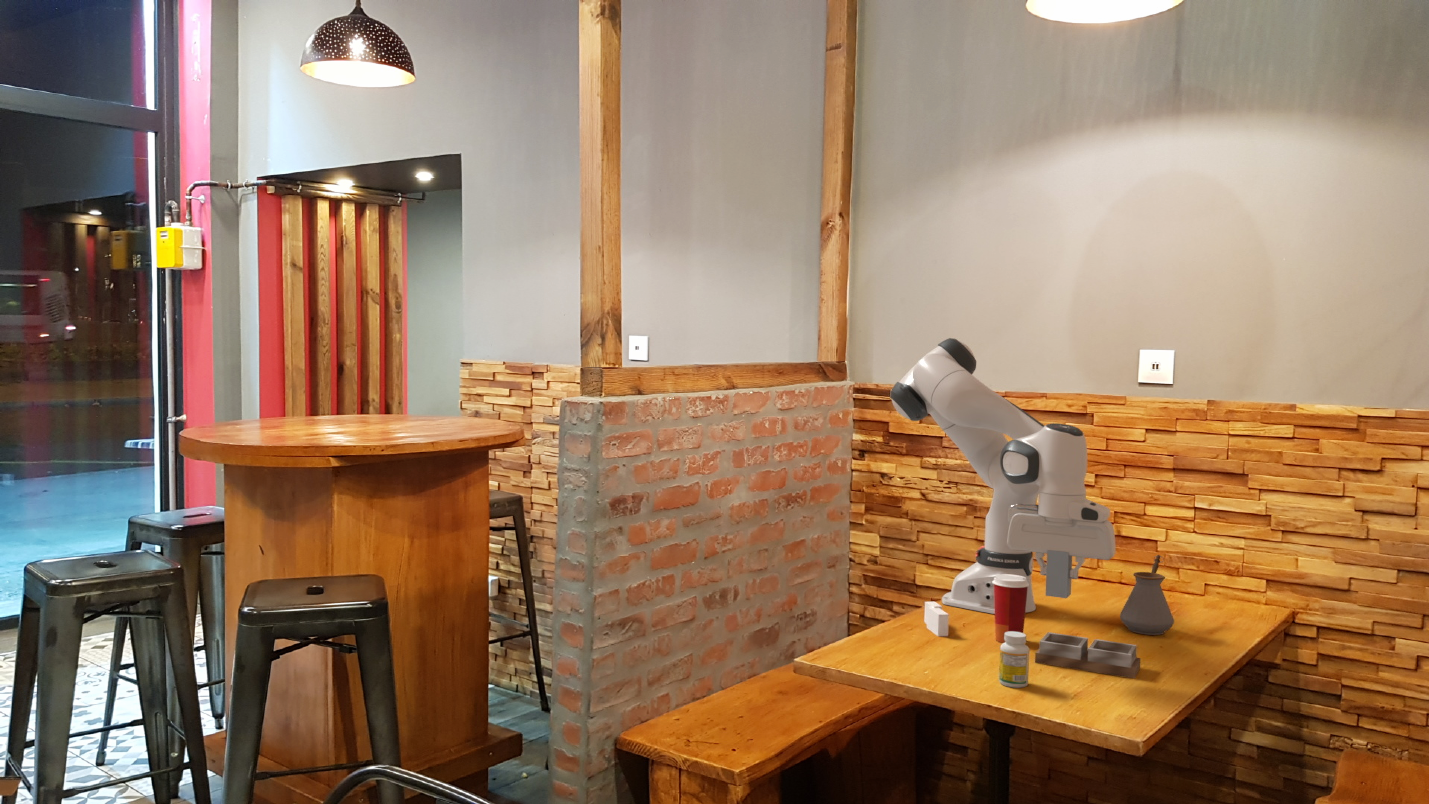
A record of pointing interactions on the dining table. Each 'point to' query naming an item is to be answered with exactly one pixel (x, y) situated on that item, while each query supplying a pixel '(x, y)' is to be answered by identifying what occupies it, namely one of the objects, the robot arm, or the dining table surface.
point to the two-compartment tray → (1088, 655)
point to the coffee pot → (1147, 604)
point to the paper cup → (1009, 604)
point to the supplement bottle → (1014, 660)
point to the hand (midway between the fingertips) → (1059, 576)
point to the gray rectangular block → (1058, 574)
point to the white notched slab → (936, 619)
